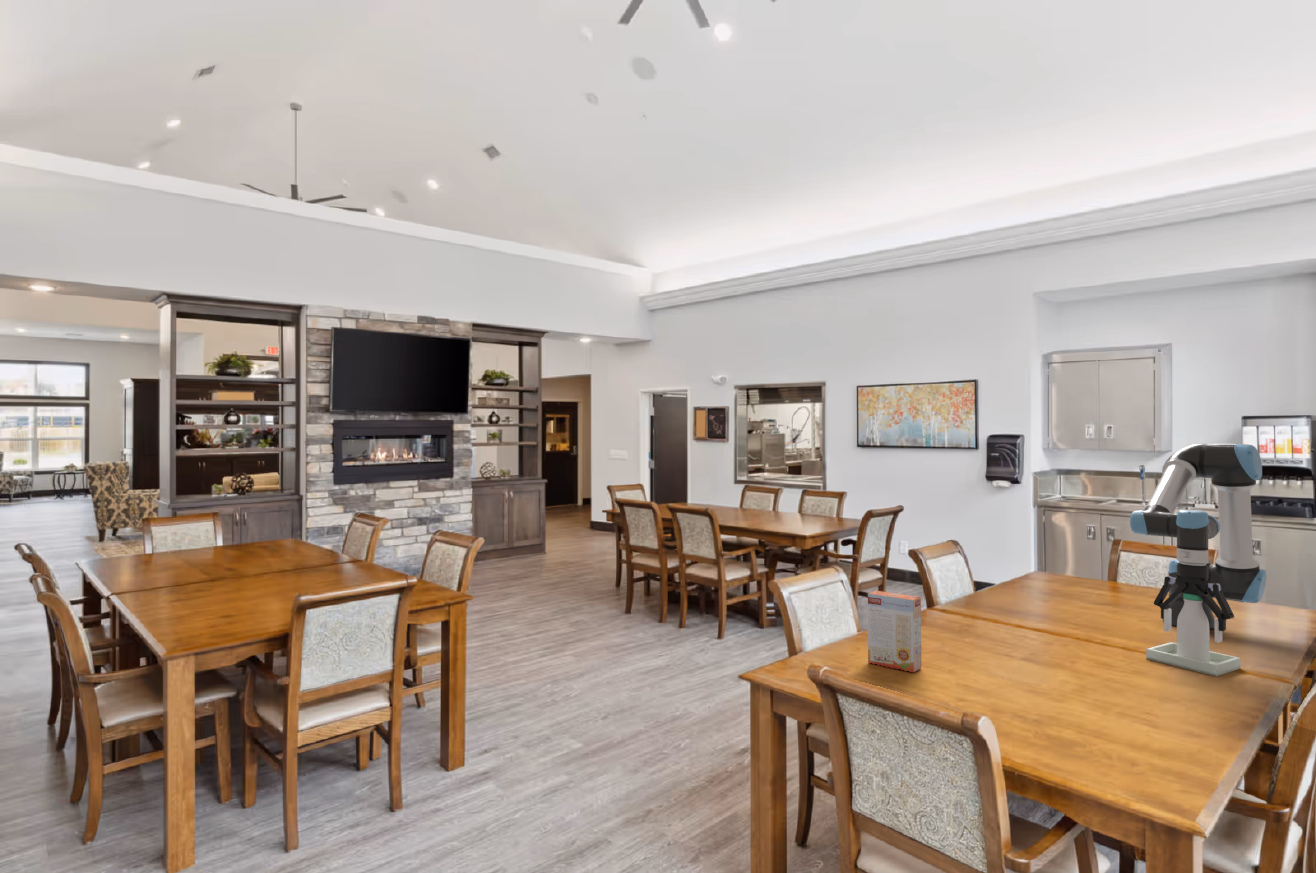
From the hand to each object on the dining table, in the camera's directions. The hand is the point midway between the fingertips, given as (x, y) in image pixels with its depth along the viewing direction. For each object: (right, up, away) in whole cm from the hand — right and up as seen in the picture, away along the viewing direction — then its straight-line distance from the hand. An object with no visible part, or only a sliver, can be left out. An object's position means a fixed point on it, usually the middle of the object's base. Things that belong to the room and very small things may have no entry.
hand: (1192, 636), depth 210 cm
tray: (0, -8, 0) cm, 8 cm away
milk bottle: (0, -8, 0) cm, 8 cm away
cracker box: (-88, -9, -2) cm, 89 cm away
